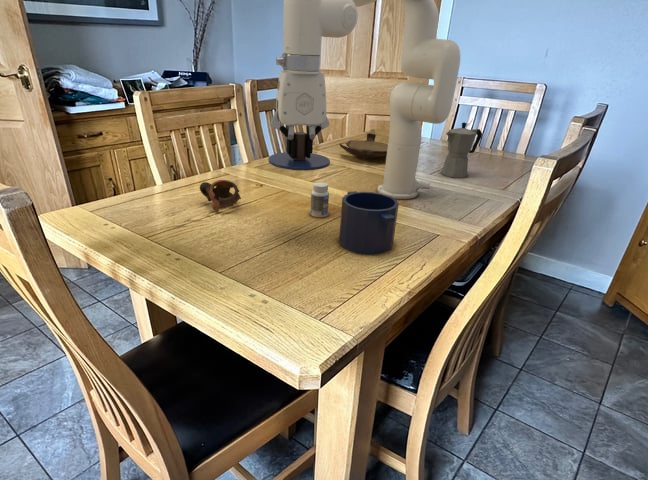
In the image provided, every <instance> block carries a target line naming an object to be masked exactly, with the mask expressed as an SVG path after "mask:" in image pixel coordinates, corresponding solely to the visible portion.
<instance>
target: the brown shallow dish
mask: <svg viewBox="0 0 648 480" xmlns="http://www.w3.org/2000/svg"><path fill="white" fill-rule="evenodd" d="M376 136H377V135H376V130H375V129H374V128H372V129H370V132H368V133H366V140H352V139H351V140H348V141H347V142H345V145H344V144H342V143H341V142H340V143H339V147H340V148H342V149H343V150H344V151H346V152H347V153H348V154H351V155H352V156H355V157H357V158H362V159H363V158H364V159H380V158H383V157H386V156H387V148H388V143H384V142H379V141H375V140H376Z"/></svg>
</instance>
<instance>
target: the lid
mask: <svg viewBox="0 0 648 480" xmlns="http://www.w3.org/2000/svg"><path fill="white" fill-rule="evenodd" d="M294 140H295V141H296V151H295V158H294V159H292V158H291V157H290V156H289V154H287V151H283V152H278V153H274V154H271V155H270V156H268V158H267V159H268V163H269V164H270V165H271V166H273V167H276V168H279V169H284V170H288V171H289V170H290V171H298V172H299V171H300V172H301V171H303V172H304V171H316V170H317V171H318V170H322V169H325V168H327V167H330V165H331V159H330V158H329V157H327V156H325V155H322V154H319V153H313V152H312V153H311V156H310V158H307V157H306V132H304V131H296V132H295V131H294Z"/></svg>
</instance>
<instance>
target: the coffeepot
mask: <svg viewBox="0 0 648 480" xmlns="http://www.w3.org/2000/svg"><path fill="white" fill-rule="evenodd" d="M467 124H468V123H466V122H462V123H461V127H457V128H452V129H448V131H447V132H446V134H445V135H447V139H448V140H447V151H448V154H447V155H446V157H445V160H444V163H443V165H442V168H441V171H440V172H441V174H442V175H443V176H445V177H448V178H454V179H463V178H466V177H467V176H468V167H469V166H468V165H469V157H468V156H469V154H473V153H475V152H476V149H477V147H478V146H479V144H480V141H481V139H482V137H483V133H482V130H481V129H480V128H476V129H473V128H472V129H468V128H466V126H467Z"/></svg>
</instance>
